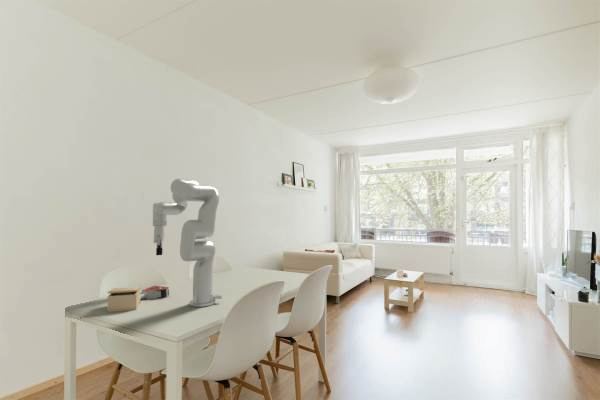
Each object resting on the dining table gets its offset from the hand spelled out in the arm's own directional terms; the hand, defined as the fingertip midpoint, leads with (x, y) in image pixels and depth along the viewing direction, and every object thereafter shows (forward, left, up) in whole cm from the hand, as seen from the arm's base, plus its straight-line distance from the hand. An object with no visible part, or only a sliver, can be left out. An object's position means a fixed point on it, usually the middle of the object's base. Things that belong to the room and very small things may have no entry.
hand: (159, 254), depth 188 cm
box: (+12, +30, -21) cm, 39 cm away
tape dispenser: (+3, +15, -21) cm, 27 cm away
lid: (+12, +30, -13) cm, 35 cm away
